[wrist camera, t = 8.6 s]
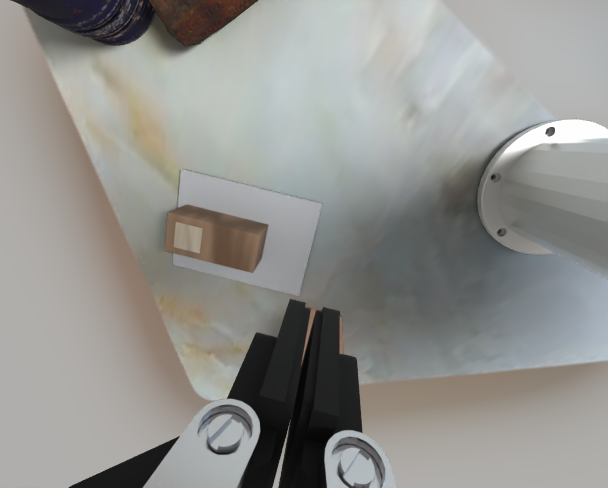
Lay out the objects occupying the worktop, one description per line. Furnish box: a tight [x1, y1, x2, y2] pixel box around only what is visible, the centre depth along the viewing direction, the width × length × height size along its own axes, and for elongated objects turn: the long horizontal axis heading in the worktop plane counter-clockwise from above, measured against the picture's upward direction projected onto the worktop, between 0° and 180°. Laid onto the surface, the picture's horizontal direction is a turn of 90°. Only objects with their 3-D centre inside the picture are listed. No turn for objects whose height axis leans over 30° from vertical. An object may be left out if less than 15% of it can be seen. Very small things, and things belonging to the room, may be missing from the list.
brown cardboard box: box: [165, 204, 268, 273], centre depth 31 cm, size 4×4×9 cm
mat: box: [172, 169, 323, 296], centre depth 33 cm, size 15×11×1 cm
